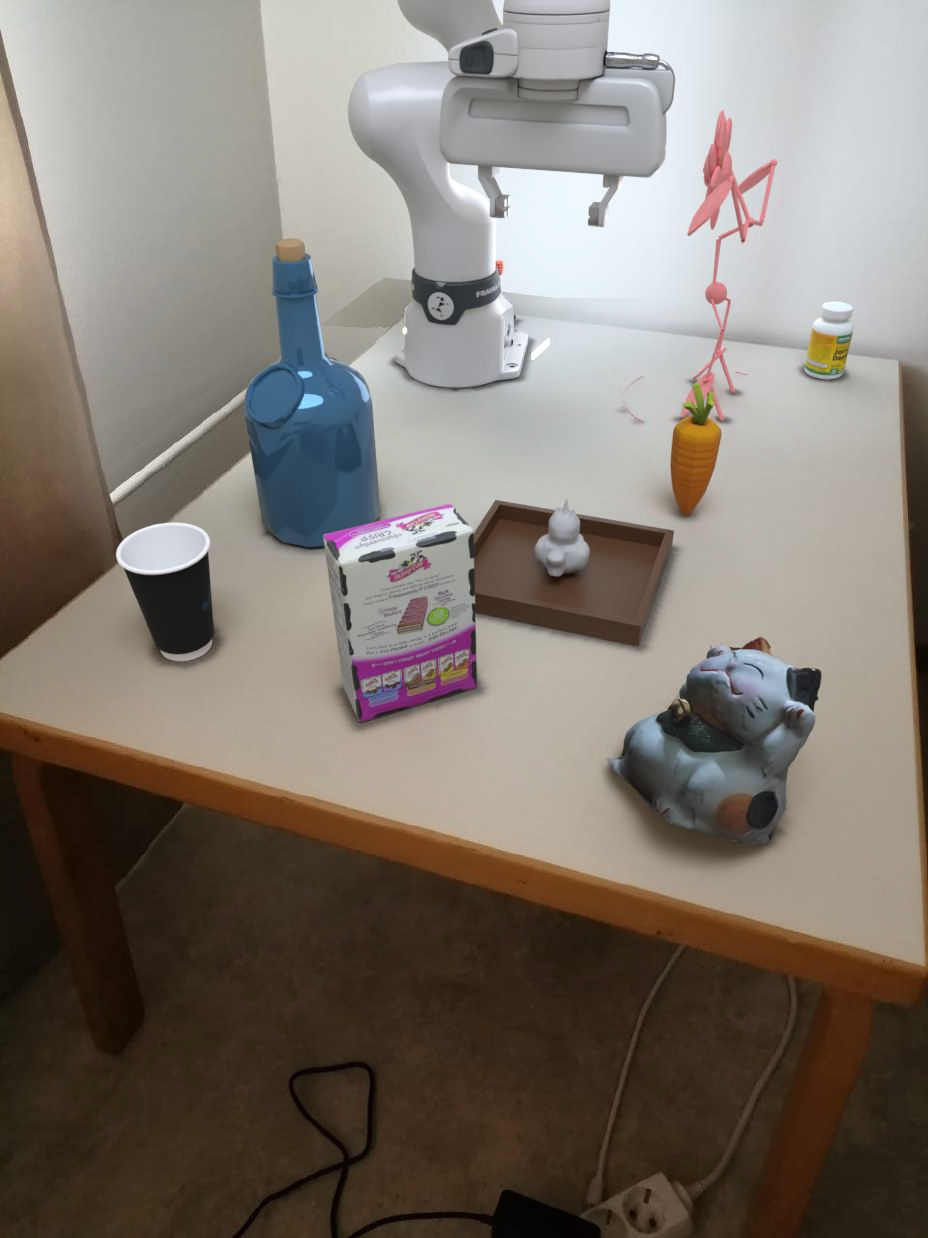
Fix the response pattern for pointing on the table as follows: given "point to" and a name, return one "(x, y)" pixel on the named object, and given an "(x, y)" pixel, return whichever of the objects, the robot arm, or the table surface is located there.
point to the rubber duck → (562, 544)
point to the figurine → (723, 235)
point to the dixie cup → (172, 586)
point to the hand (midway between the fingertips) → (547, 220)
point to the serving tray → (576, 602)
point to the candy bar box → (404, 609)
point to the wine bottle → (309, 421)
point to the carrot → (694, 452)
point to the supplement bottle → (830, 341)
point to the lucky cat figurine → (724, 744)
